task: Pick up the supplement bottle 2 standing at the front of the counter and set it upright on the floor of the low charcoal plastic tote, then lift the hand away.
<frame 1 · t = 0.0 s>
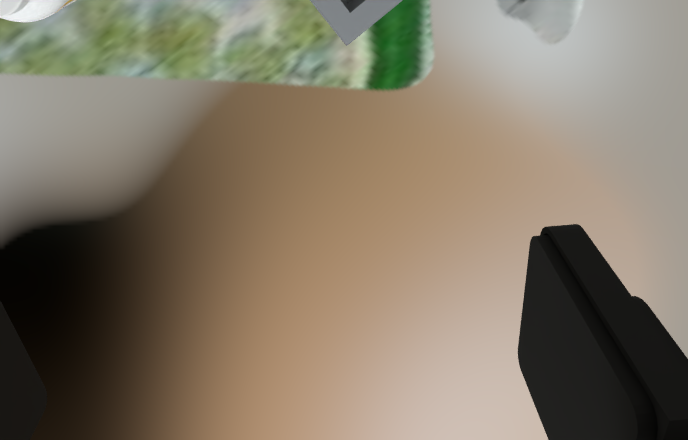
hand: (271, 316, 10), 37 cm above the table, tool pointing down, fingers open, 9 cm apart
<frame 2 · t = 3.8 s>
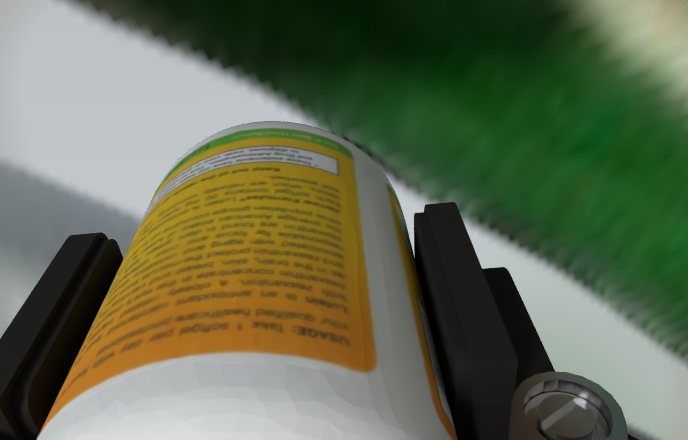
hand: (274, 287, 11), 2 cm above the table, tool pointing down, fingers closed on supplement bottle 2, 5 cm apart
supplement bottle 2: (280, 224, 13), on the table, touching gripper
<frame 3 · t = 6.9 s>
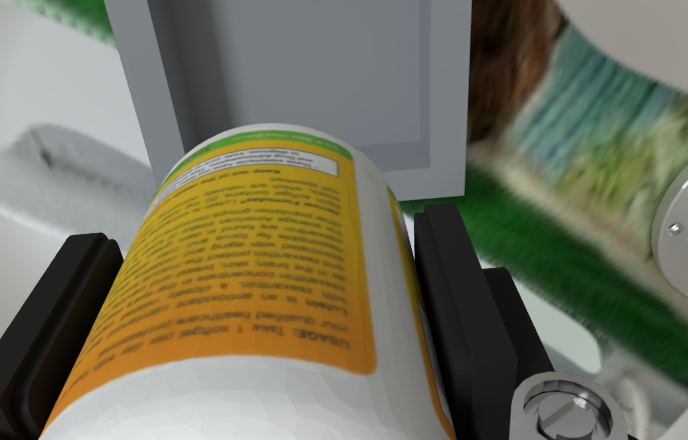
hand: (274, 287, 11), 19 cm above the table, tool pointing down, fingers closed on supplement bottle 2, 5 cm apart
tote: (299, 34, 27), on the table
supplement bottle 2: (281, 226, 13), point 16 cm above the table, touching gripper
when the fingers open (4 cm above the table, at t = 10.2 s): supplement bottle 2 drops 1 cm, resting on tote.
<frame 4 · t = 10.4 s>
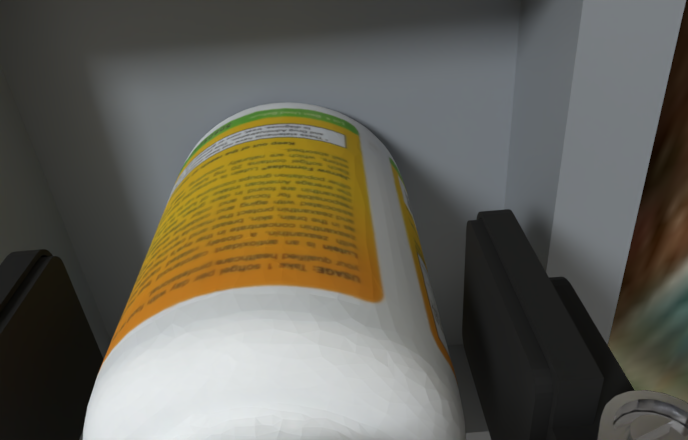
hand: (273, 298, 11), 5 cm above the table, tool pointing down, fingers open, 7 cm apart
tote: (284, 177, 15), on the table
supplement bottle 2: (293, 197, 14), point 1 cm above the table, touching tote
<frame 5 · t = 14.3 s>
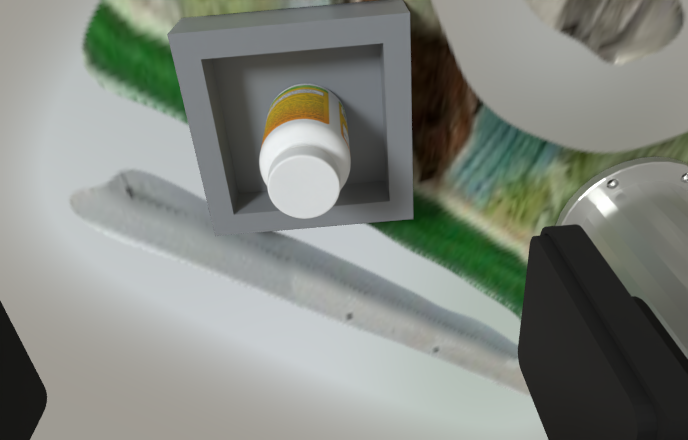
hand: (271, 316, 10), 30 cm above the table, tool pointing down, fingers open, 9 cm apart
tote: (303, 112, 40), on the table
supplement bottle 2: (307, 118, 40), point 1 cm above the table, touching tote
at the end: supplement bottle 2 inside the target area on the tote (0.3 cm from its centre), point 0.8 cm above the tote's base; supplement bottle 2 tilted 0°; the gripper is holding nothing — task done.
